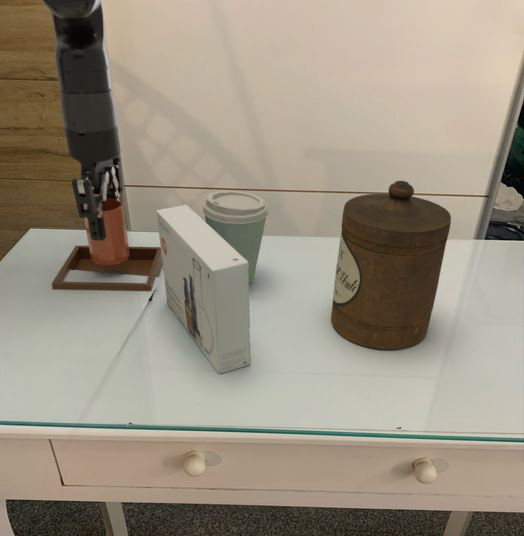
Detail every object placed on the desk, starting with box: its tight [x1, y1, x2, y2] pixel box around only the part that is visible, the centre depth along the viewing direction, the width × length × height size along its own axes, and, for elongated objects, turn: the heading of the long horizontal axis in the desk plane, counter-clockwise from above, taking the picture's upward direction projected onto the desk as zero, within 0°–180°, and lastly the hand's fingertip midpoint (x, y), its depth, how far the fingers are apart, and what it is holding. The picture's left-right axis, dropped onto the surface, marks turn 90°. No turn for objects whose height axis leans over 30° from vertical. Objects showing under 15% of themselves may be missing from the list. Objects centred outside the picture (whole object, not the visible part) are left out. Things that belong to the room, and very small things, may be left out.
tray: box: [51, 245, 163, 301], centre depth 95 cm, size 16×15×3 cm
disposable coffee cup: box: [202, 189, 269, 286], centre depth 92 cm, size 11×11×15 cm
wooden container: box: [330, 180, 452, 350], centre depth 80 cm, size 15×15×22 cm
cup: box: [83, 198, 130, 265], centre depth 91 cm, size 6×6×9 cm
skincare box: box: [156, 204, 252, 375], centre depth 78 cm, size 21×6×16 cm, turn 27°
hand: (106, 230), depth 90 cm, fingers closed on cup, 6 cm apart
